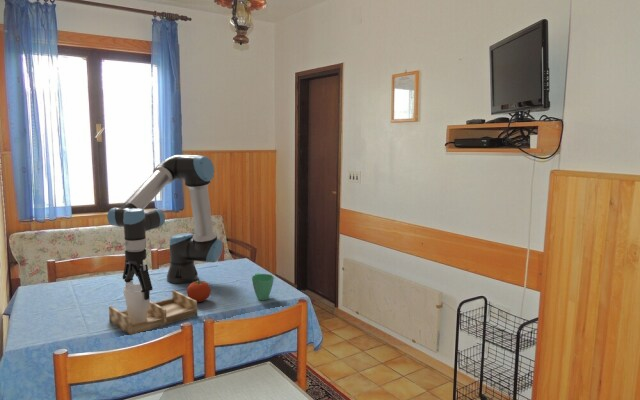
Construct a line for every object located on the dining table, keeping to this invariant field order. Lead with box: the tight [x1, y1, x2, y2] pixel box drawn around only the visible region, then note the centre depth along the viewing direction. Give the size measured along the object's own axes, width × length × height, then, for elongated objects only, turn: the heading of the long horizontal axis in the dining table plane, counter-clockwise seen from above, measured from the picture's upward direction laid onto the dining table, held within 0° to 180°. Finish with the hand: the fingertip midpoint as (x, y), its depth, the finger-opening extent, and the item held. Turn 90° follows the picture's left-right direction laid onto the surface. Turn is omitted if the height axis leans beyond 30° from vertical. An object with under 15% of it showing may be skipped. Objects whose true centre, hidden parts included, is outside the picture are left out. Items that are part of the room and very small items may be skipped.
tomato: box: [186, 279, 212, 303], centre depth 202 cm, size 10×10×10 cm
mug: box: [251, 272, 275, 301], centre depth 210 cm, size 15×10×10 cm
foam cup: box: [123, 283, 151, 323], centre depth 177 cm, size 10×9×13 cm
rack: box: [108, 289, 198, 336], centre depth 183 cm, size 18×28×6 cm, turn 137°
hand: (137, 302), depth 177 cm, fingers open, 13 cm apart
